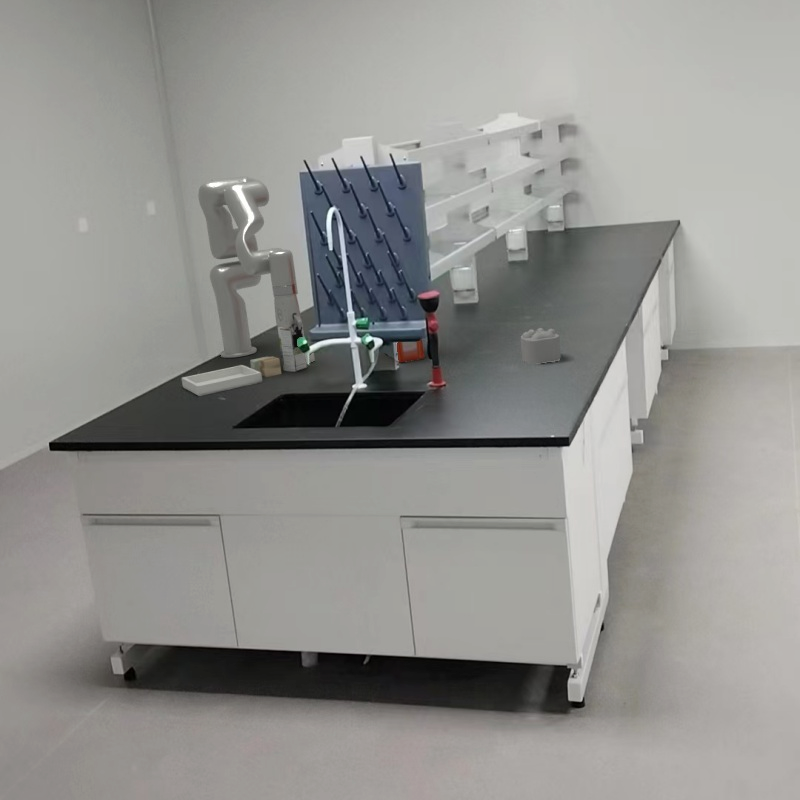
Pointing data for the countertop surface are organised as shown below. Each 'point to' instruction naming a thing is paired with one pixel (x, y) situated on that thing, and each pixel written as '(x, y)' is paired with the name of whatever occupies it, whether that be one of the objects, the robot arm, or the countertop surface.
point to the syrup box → (290, 351)
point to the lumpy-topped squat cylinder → (540, 346)
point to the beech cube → (270, 366)
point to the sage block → (256, 364)
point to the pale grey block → (312, 357)
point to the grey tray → (221, 380)
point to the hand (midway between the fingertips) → (292, 344)
